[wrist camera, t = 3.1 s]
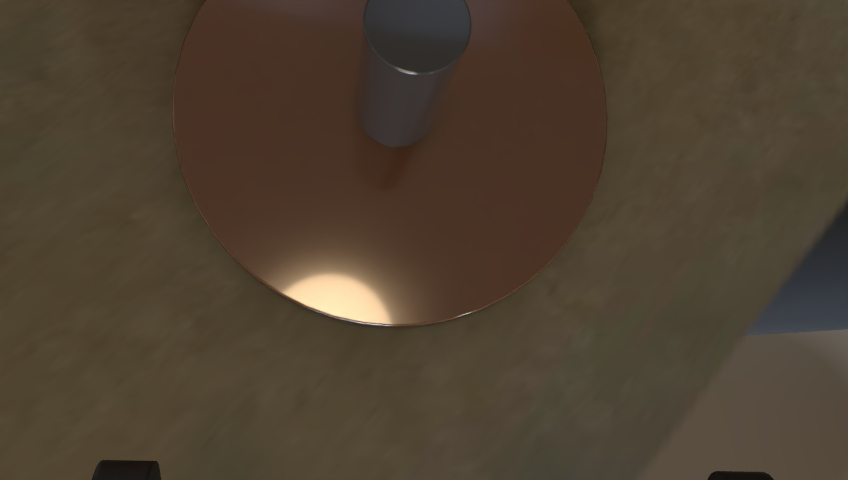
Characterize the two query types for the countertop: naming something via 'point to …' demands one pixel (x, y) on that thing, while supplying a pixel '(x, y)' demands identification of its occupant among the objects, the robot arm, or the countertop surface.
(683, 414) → the countertop surface
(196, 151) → the lid
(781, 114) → the countertop surface
